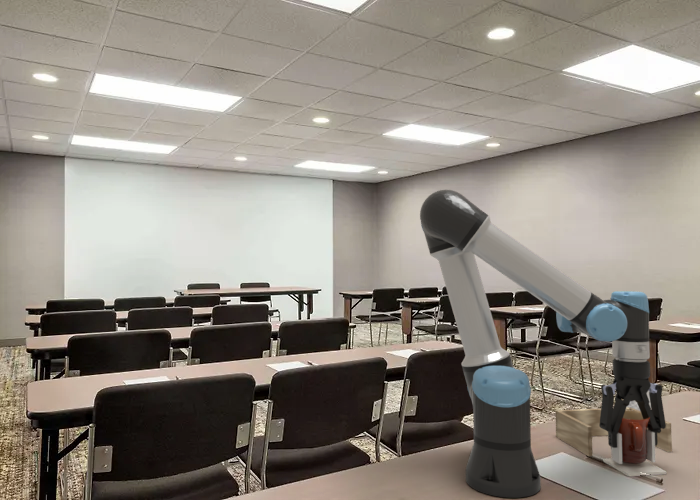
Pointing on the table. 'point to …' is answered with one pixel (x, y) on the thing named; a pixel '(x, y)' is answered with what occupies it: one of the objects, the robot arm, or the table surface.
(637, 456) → the mug
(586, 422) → the bay
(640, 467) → the coaster
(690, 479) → the table surface
